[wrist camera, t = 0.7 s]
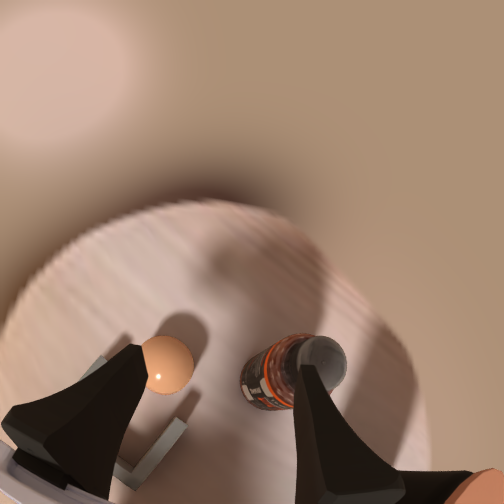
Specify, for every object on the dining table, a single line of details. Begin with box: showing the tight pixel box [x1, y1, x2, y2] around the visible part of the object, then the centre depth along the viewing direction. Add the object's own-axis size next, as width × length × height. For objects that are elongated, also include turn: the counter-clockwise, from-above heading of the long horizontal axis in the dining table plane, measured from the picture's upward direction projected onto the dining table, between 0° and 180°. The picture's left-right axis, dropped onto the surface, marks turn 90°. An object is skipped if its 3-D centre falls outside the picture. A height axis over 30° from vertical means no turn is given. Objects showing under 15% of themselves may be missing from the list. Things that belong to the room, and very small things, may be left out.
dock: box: [78, 355, 188, 491], centre depth 21 cm, size 8×9×3 cm
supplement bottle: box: [240, 333, 347, 411], centre depth 23 cm, size 6×6×11 cm
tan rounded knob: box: [141, 336, 194, 395], centre depth 24 cm, size 5×5×4 cm
